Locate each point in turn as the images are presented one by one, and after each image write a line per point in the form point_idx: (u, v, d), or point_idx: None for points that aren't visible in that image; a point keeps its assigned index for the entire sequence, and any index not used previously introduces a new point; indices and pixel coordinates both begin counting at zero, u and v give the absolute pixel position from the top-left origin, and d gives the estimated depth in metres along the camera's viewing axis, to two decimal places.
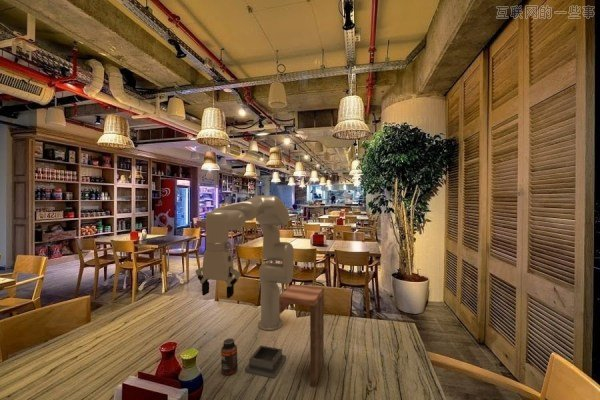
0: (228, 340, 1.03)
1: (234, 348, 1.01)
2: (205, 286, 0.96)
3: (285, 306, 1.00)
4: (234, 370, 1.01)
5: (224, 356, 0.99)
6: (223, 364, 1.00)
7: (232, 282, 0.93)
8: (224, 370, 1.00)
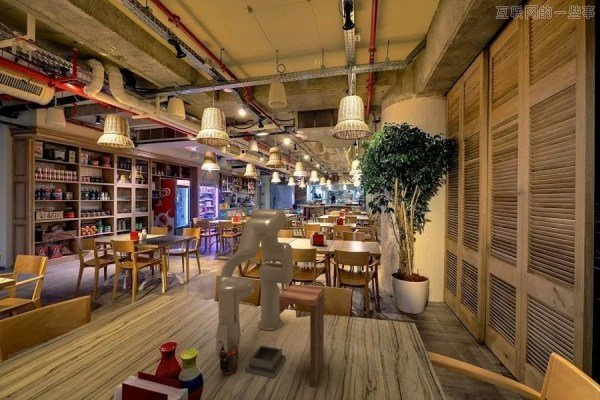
0: None
1: (234, 348, 1.01)
2: None
3: (285, 306, 1.00)
4: (234, 370, 1.01)
5: None
6: None
7: None
8: (224, 370, 1.00)
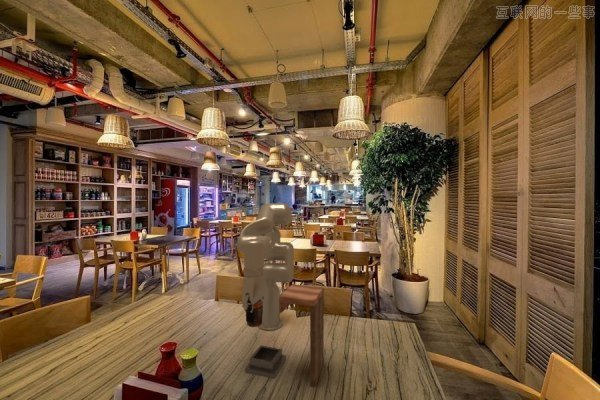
0: None
1: (259, 302, 1.03)
2: None
3: (285, 306, 1.00)
4: (259, 323, 1.03)
5: None
6: None
7: (262, 300, 1.09)
8: (250, 323, 1.02)
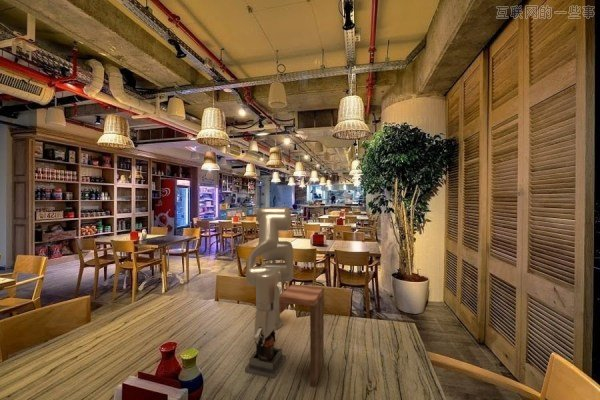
0: None
1: (271, 339, 1.04)
2: None
3: (285, 306, 1.00)
4: None
5: None
6: None
7: (274, 327, 1.11)
8: None
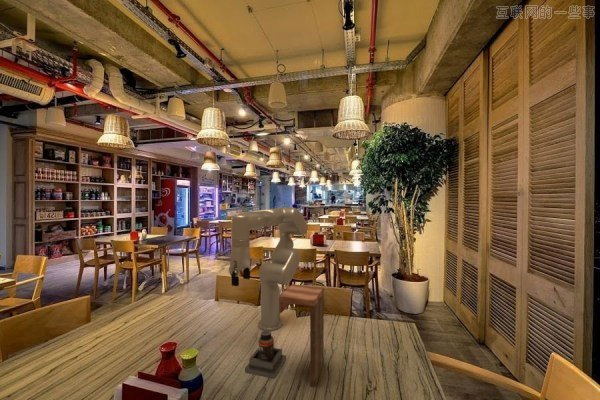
0: (265, 332, 1.06)
1: (271, 339, 1.04)
2: None
3: (285, 306, 1.00)
4: None
5: (262, 347, 1.03)
6: (261, 355, 1.03)
7: (249, 266, 1.24)
8: None
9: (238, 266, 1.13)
